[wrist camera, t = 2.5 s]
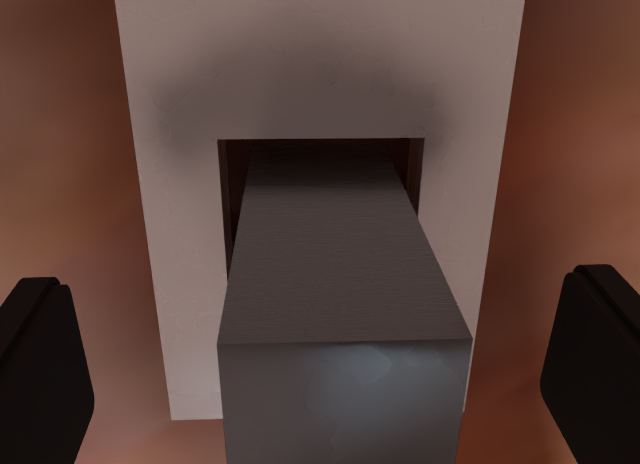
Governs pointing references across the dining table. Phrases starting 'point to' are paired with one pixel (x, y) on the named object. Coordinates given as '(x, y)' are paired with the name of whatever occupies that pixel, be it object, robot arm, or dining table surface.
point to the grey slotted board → (307, 133)
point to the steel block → (337, 318)
